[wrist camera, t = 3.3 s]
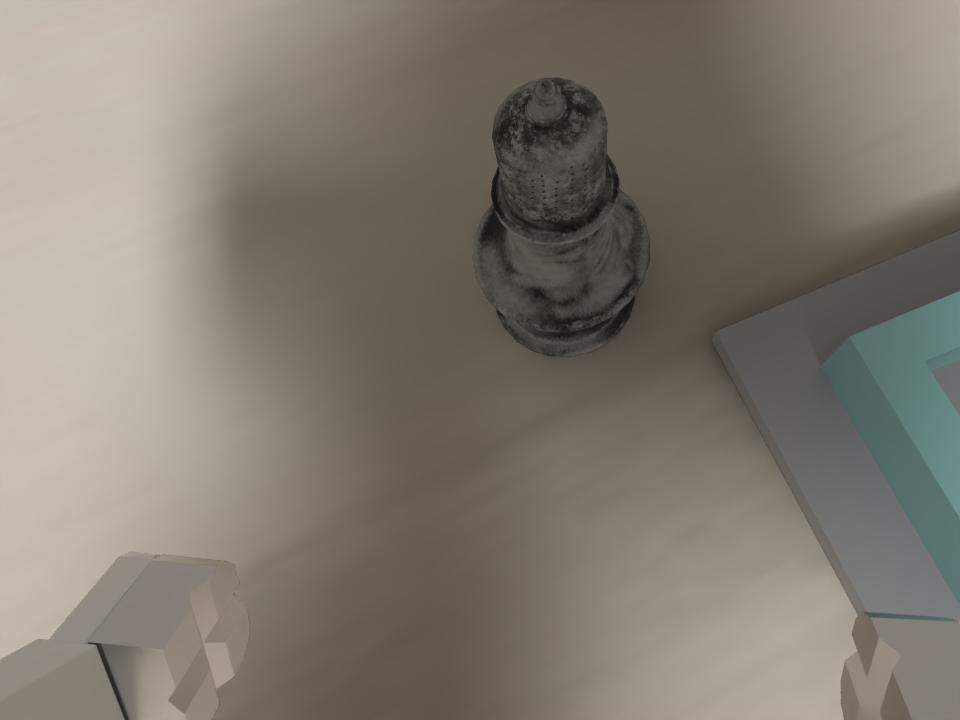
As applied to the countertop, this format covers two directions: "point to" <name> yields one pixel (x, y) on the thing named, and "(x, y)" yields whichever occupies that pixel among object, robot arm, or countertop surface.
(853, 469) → the socket
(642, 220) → the salt shaker
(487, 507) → the countertop surface
